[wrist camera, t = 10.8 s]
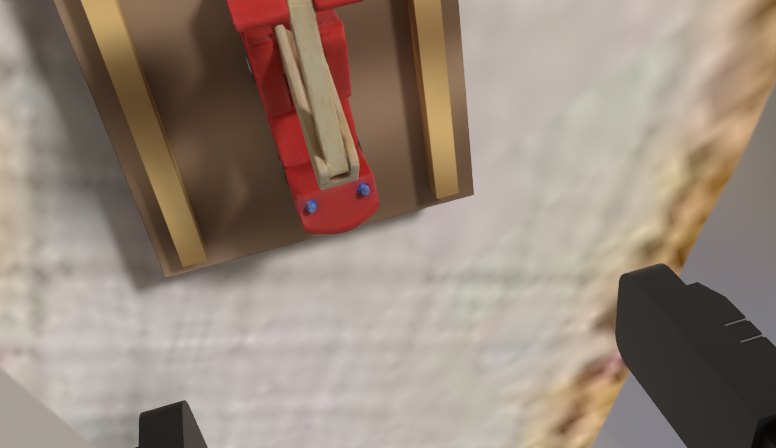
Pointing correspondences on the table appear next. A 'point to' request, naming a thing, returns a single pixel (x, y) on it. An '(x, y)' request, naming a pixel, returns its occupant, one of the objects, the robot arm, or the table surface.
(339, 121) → the toy fire truck
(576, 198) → the table surface
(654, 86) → the table surface
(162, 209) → the platform
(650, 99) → the table surface
